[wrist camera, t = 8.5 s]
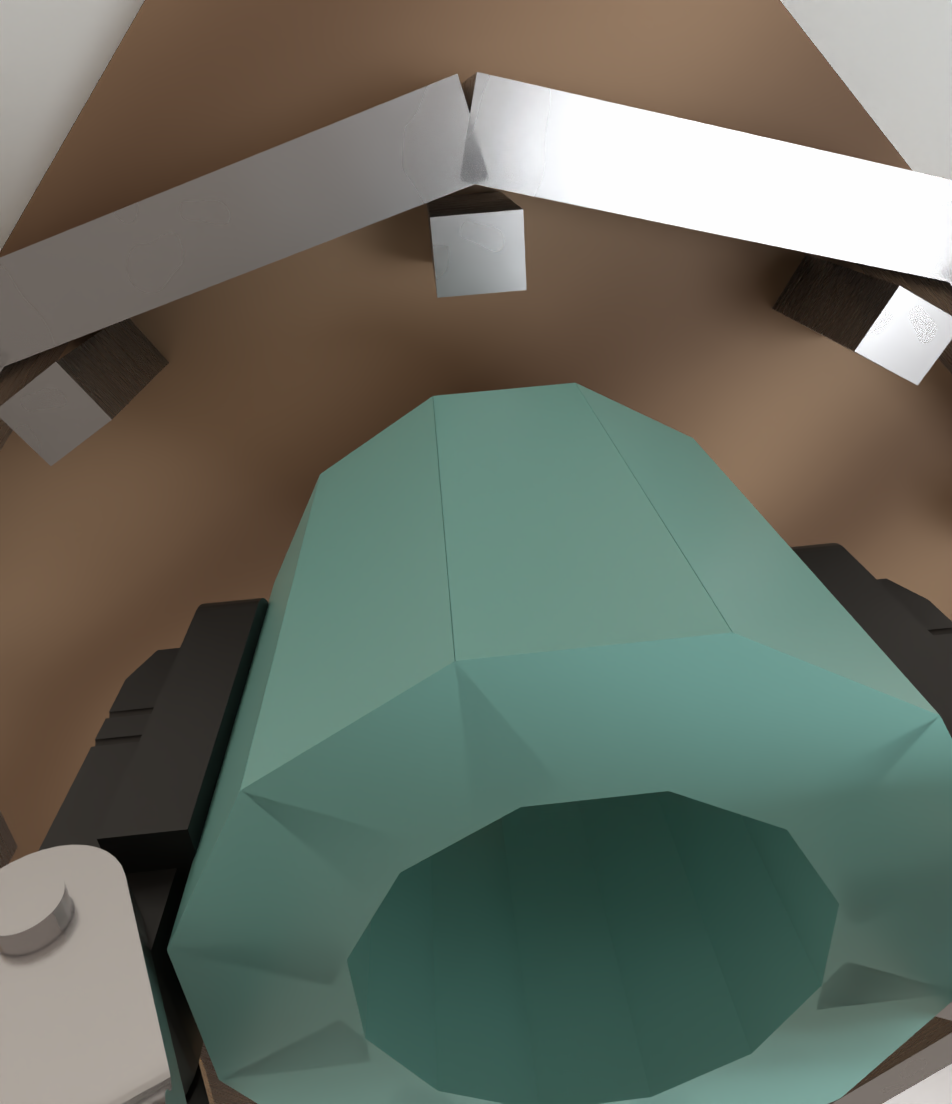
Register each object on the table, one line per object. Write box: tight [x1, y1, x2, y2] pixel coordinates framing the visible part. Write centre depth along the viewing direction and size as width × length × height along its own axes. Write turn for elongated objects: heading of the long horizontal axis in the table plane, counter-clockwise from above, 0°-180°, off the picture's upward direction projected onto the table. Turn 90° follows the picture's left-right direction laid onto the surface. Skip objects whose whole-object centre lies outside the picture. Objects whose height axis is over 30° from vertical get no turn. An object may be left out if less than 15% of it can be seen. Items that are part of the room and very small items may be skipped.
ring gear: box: [0, 72, 952, 1104], centre depth 18 cm, size 27×27×3 cm
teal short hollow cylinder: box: [167, 383, 952, 1104], centre depth 8 cm, size 6×6×5 cm
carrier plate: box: [0, 0, 952, 863], centre depth 18 cm, size 28×28×6 cm
